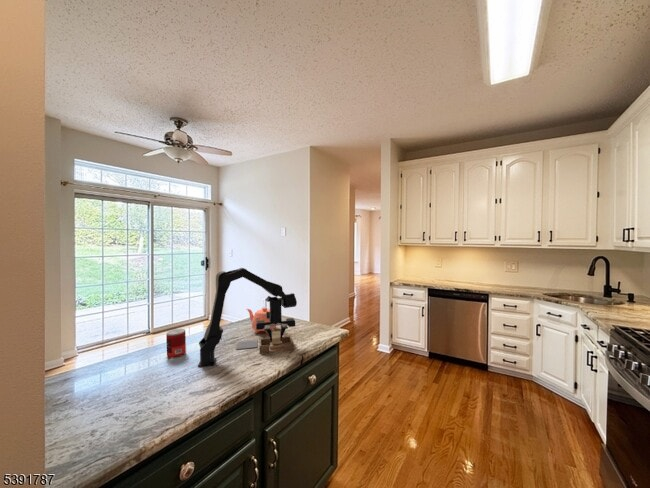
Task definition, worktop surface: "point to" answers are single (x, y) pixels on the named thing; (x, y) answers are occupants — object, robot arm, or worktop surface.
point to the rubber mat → (247, 344)
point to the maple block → (276, 336)
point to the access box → (276, 345)
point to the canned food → (176, 343)
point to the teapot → (259, 318)
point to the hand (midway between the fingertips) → (276, 341)
